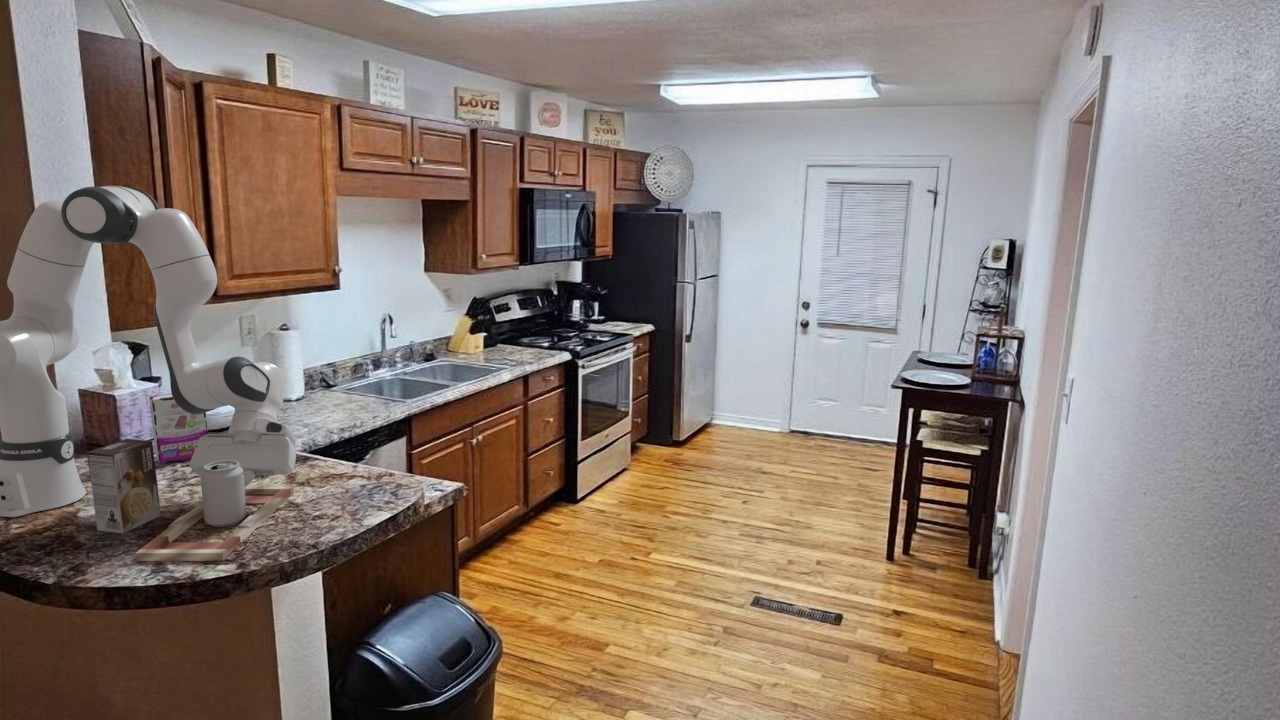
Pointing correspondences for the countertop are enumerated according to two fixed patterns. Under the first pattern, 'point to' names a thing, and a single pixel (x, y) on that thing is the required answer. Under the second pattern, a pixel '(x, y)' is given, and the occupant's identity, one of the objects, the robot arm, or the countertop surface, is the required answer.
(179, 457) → the candy bar box
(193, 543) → the flat rectangular frame
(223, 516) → the can
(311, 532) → the countertop surface
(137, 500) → the coffee box
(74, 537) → the countertop surface
